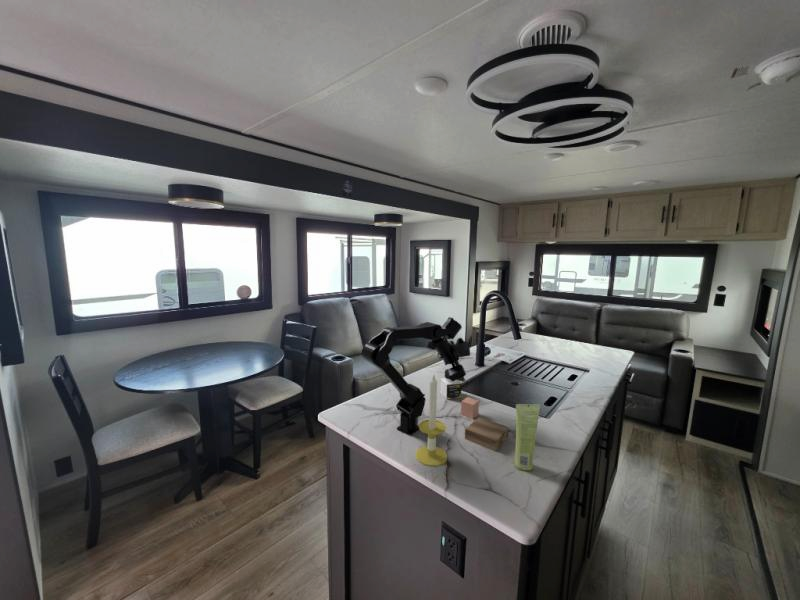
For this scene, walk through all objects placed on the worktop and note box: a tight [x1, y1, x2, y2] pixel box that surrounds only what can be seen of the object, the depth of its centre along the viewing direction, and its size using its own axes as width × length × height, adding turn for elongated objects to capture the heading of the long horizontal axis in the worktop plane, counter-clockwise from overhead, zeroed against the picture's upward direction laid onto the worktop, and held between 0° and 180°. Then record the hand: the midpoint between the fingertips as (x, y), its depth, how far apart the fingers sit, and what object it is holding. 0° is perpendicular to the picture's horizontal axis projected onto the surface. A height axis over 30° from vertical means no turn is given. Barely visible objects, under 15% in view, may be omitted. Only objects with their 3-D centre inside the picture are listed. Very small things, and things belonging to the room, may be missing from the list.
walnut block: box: [464, 416, 510, 452], centre depth 110 cm, size 11×11×4 cm
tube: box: [514, 403, 541, 472], centre depth 94 cm, size 6×5×20 cm
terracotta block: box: [460, 396, 480, 420], centre depth 126 cm, size 5×5×6 cm
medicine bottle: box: [440, 368, 462, 400], centre depth 143 cm, size 7×7×12 cm
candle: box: [415, 374, 448, 467], centre depth 98 cm, size 10×10×27 cm
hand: (460, 372), depth 128 cm, fingers open, 9 cm apart
